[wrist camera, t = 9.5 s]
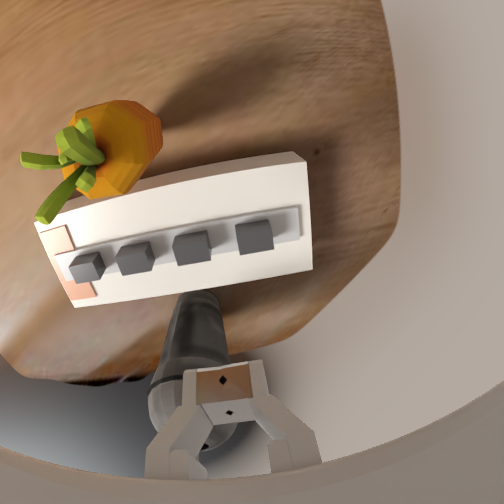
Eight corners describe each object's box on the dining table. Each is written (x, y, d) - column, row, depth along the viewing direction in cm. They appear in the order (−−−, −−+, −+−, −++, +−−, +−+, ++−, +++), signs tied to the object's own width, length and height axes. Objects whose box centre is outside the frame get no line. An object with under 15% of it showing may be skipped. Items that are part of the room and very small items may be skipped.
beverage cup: (234, 277, 28) (259, 493, 11) (232, 331, 32) (250, 510, 14) (159, 277, 27) (120, 487, 10) (167, 330, 31) (151, 508, 14)
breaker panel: (55, 204, 22) (22, 233, 17) (292, 151, 23) (315, 168, 17) (87, 283, 27) (67, 321, 22) (300, 246, 27) (319, 283, 22)
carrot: (139, 169, 22) (49, 268, 9) (110, 120, 20) (-17, 165, 7) (190, 138, 21) (145, 203, 8) (162, 87, 19) (70, 72, 6)
